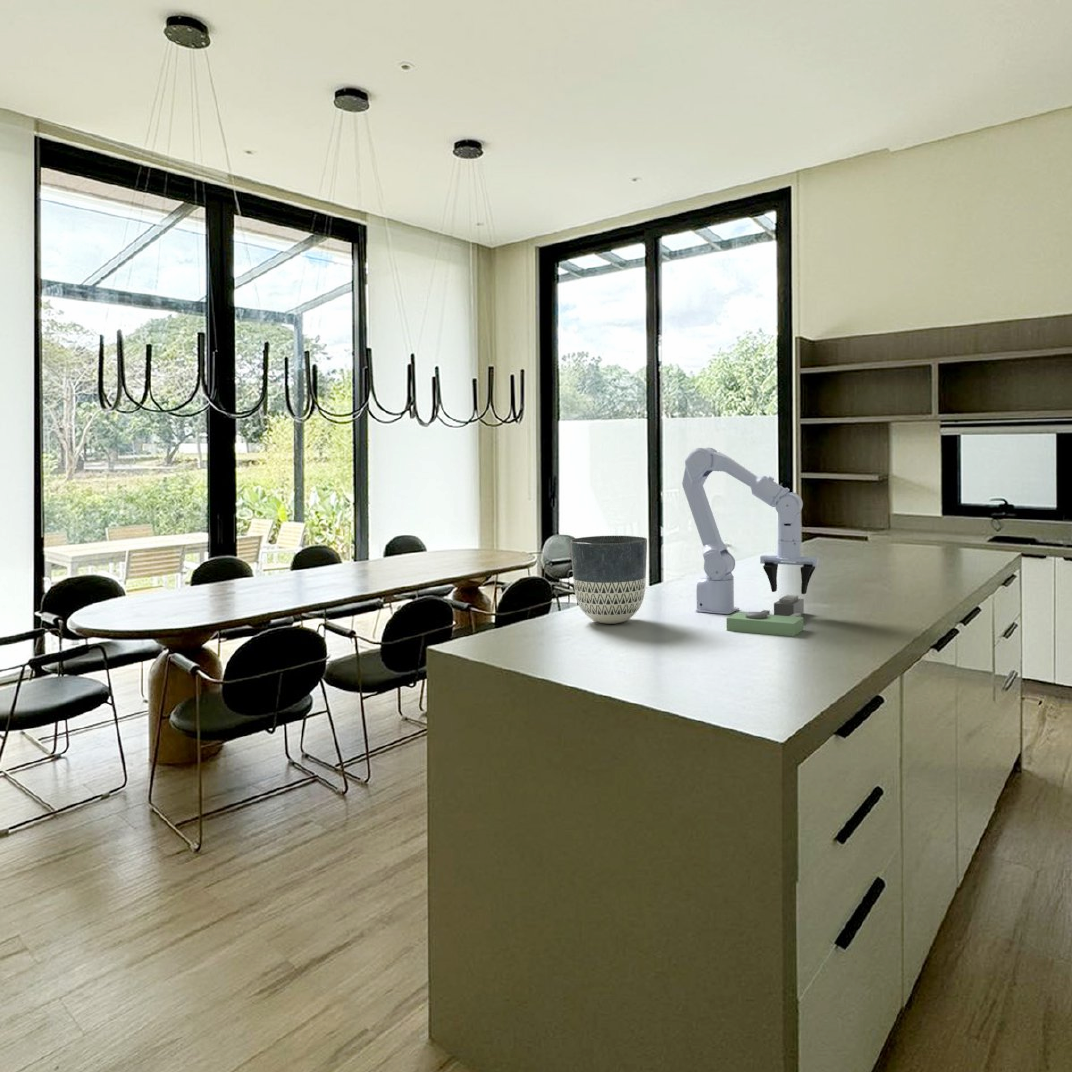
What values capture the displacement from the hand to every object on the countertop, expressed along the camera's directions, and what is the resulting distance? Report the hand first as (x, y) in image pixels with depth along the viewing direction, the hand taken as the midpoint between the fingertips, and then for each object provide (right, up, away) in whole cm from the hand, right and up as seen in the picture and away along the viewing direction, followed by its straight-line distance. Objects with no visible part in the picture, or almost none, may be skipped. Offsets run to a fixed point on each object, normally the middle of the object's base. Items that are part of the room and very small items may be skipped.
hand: (788, 592), depth 214 cm
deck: (-8, -7, -12) cm, 16 cm away
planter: (-46, -8, -1) cm, 47 cm away
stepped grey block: (0, -6, 0) cm, 6 cm away
